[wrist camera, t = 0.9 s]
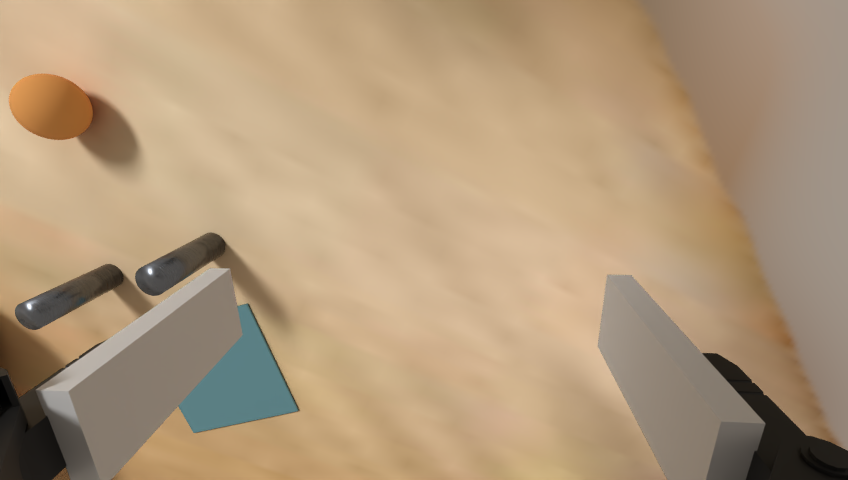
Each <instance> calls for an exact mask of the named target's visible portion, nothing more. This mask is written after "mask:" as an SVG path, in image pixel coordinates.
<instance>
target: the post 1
mask: <svg viewBox="0 0 848 480" xmlns="http://www.w3.org/2000/svg"><path fill="white" fill-rule="evenodd" d="M122 282H123V275H122V272H121V271H120V270H119V269H118V268H117V267H116V266H114V265H111V264H105V265H103V266H101V267H99V268H97V269H94V270H92V271H90V272H88V273H86V274H83V275H81V276H79V277H77V278H75V279H73V280H70V281H68V282H66V283H64V284H62V285H60V286H57V287H55V288H53V289H51V290H49V291H47V292H44V293H42V294H40V295H38V296H36V297H34V298H31V299H29V300H27V301H25V302H23V303H21V304H19V305H17V307H16V309H15V315H16V318H17V319H18V321H19V322H20V323H21V324H22V325H23V326H25V327H26V328H28V329H32V330H37V329H40V328H42V327H43V326H45V325H47V324H49V323H51V322H53V321H55V320H56V319H58V318H60V317H62V316H64V315H66V314H67V313H69V312H71V311H73V310H75V309H77V308H79V307H80V306H82V305H84V304H86V303H88V302H90V301H92V300H93V299H95V298H97V297H99V296H101V295H103V294H104V293H106V292H108V291H110V290H112V289H114V288H116V287H117V286H119V285H121V284H122Z"/></svg>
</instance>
